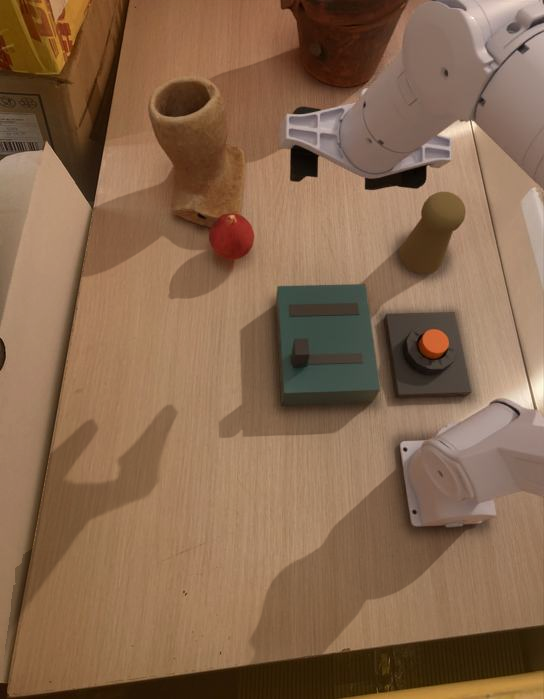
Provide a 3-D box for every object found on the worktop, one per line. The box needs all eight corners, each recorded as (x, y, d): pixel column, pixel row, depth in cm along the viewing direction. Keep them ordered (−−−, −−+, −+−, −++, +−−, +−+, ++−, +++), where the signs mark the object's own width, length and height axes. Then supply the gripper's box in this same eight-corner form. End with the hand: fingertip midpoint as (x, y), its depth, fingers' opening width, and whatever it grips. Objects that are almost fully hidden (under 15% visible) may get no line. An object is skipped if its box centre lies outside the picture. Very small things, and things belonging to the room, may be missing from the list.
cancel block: (468, 395, 66) (477, 387, 63) (395, 398, 65) (402, 389, 63) (451, 316, 70) (459, 305, 68) (383, 317, 70) (389, 306, 67)
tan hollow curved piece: (171, 146, 81) (155, 55, 67) (250, 154, 81) (250, 64, 67) (152, 228, 74) (130, 146, 61) (238, 236, 74) (235, 157, 61)
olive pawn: (441, 278, 73) (472, 228, 63) (397, 269, 73) (420, 218, 63) (444, 242, 75) (474, 188, 65) (401, 234, 76) (425, 179, 66)
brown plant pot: (278, 21, 93) (284, -100, 77) (393, 28, 94) (423, -91, 77) (274, 95, 86) (280, -22, 69) (399, 102, 86) (433, -12, 70)
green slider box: (372, 402, 65) (380, 389, 61) (281, 405, 64) (283, 392, 60) (358, 301, 71) (365, 283, 67) (275, 303, 70) (277, 285, 66)
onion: (203, 260, 73) (197, 223, 65) (224, 229, 75) (221, 190, 67) (240, 277, 72) (239, 242, 64) (261, 246, 74) (262, 208, 67)
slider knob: (306, 367, 62) (309, 354, 58) (292, 367, 61) (295, 355, 58) (305, 351, 62) (308, 338, 59) (291, 351, 62) (294, 338, 59)
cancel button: (446, 358, 65) (451, 352, 63) (420, 359, 65) (424, 353, 63) (441, 334, 66) (446, 328, 65) (416, 335, 66) (420, 329, 65)
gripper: (486, 75, 41) (400, 144, 54) (305, 42, 37) (259, 124, 50) (484, 167, 41) (398, 213, 54) (302, 143, 37) (258, 199, 50)
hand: (331, 175), depth 52 cm, fingers open, 7 cm apart
